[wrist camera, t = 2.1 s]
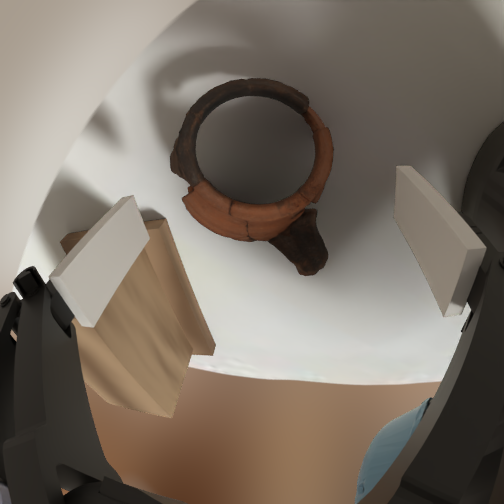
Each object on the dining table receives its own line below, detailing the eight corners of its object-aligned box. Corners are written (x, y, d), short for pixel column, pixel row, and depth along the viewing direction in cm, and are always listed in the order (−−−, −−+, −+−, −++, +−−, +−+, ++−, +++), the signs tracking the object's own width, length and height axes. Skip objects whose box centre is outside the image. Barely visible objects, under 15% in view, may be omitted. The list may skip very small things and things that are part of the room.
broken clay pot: (162, 168, 20) (121, 141, 12) (259, 94, 20) (272, 34, 11) (265, 291, 21) (282, 334, 13) (357, 212, 21) (418, 211, 13)
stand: (166, 218, 22) (103, 310, 14) (215, 344, 31) (195, 425, 22) (68, 233, 24) (7, 300, 16) (129, 338, 33) (99, 403, 25)
